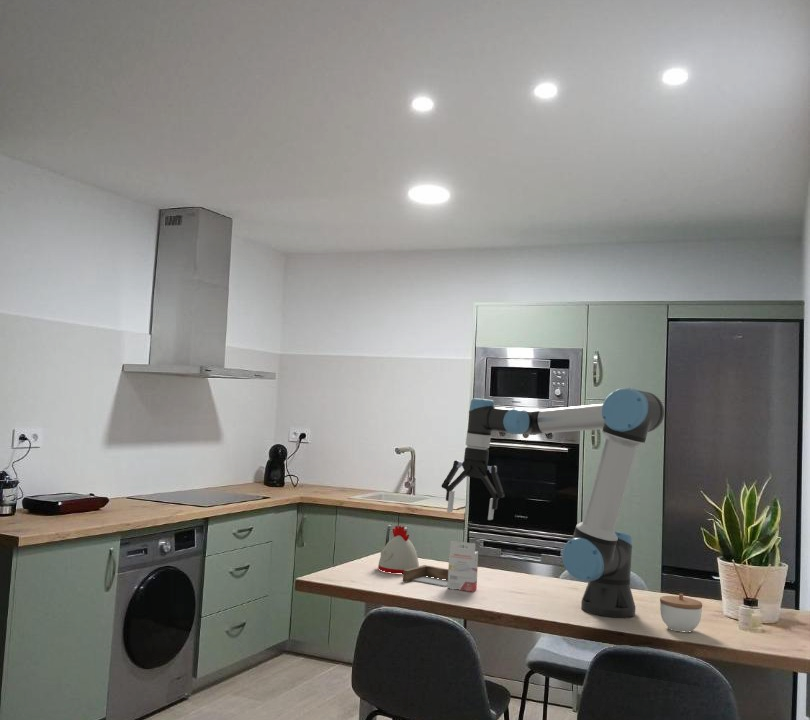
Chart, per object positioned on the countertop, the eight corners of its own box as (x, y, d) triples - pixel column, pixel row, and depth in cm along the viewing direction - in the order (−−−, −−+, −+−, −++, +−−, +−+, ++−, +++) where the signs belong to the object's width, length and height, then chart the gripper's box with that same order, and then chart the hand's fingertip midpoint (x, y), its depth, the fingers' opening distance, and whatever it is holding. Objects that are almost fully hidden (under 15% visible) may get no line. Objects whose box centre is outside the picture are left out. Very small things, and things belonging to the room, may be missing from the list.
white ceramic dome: (401, 565, 270) (404, 523, 271) (426, 573, 259) (429, 528, 260) (370, 568, 261) (373, 524, 262) (395, 576, 250) (398, 530, 251)
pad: (456, 583, 245) (456, 582, 245) (445, 587, 238) (445, 585, 238) (424, 577, 251) (424, 576, 251) (412, 580, 244) (412, 579, 244)
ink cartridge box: (476, 589, 238) (479, 541, 239) (473, 592, 233) (476, 543, 234) (450, 585, 240) (453, 538, 241) (446, 588, 235) (449, 540, 237)
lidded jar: (707, 631, 204) (708, 595, 205) (692, 637, 196) (693, 600, 197) (668, 622, 211) (669, 588, 212) (652, 628, 203) (653, 592, 204)
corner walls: (471, 584, 245) (471, 573, 245) (451, 590, 233) (452, 579, 233) (423, 575, 254) (424, 565, 254) (402, 581, 242) (403, 570, 242)
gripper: (519, 453, 236) (511, 521, 235) (445, 442, 247) (437, 508, 246) (511, 453, 229) (504, 523, 228) (436, 442, 240) (428, 509, 239)
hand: (469, 515), depth 237 cm, fingers open, 13 cm apart
